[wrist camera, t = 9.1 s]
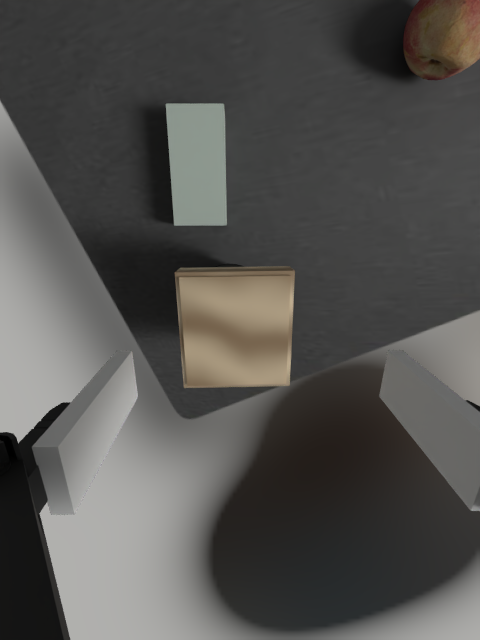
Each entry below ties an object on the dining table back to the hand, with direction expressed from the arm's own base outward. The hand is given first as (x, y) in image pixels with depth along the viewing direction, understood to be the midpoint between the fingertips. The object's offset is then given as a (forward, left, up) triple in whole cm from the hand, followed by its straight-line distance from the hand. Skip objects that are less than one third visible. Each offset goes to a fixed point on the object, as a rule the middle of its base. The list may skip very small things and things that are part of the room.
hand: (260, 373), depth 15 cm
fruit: (-25, +20, -26) cm, 41 cm away
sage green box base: (-13, -5, -26) cm, 30 cm away
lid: (+3, -1, -16) cm, 17 cm away
